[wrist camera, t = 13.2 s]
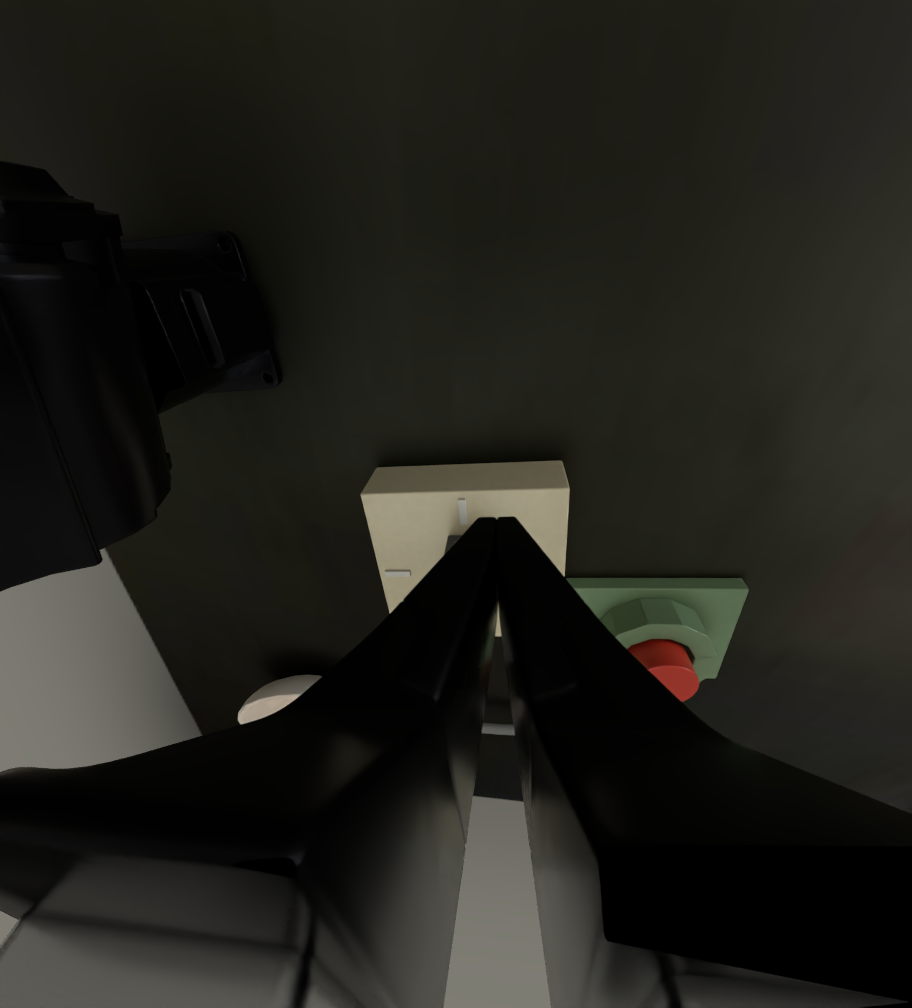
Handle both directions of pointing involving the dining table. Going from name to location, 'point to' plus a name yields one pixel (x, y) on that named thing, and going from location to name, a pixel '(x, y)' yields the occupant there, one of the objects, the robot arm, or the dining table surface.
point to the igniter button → (668, 665)
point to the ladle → (292, 687)
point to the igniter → (669, 613)
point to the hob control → (458, 513)
